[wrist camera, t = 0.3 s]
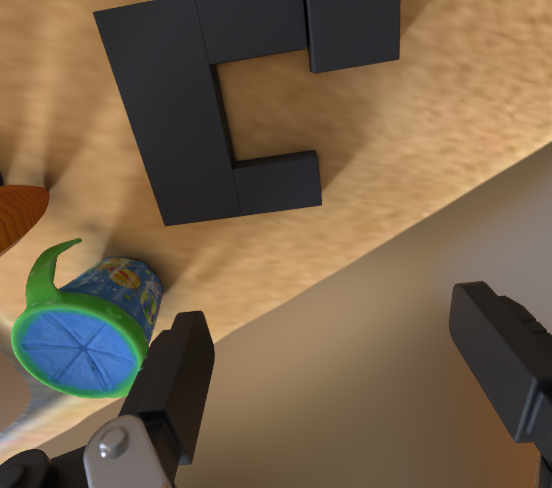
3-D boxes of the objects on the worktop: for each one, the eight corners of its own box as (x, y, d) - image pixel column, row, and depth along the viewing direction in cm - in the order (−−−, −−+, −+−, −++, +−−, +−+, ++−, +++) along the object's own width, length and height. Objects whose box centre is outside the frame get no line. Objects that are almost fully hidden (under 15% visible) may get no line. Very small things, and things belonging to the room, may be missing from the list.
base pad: (109, 16, 25) (92, 12, 23) (299, -20, 24) (300, -28, 21) (172, 215, 32) (164, 226, 30) (319, 195, 31) (322, 205, 29)
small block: (302, -17, 24) (305, -31, 20) (383, -33, 23) (401, -49, 20) (310, 71, 26) (314, 73, 23) (383, 59, 26) (399, 59, 22)
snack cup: (46, 227, 33) (-42, 289, 24) (147, 207, 32) (94, 264, 23) (113, 343, 40) (65, 424, 31) (198, 331, 39) (173, 411, 30)
